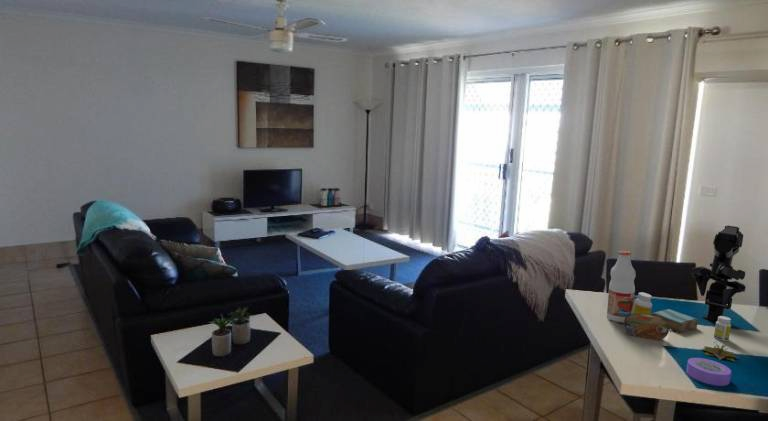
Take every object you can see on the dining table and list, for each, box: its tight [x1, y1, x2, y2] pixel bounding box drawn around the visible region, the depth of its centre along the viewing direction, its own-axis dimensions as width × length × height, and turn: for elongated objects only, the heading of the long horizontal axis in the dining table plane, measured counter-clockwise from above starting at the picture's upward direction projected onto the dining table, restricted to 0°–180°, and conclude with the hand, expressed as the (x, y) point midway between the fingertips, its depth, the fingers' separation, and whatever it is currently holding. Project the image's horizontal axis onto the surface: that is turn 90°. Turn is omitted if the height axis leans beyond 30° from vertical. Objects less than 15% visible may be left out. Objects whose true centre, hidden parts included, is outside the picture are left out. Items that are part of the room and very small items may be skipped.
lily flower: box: [699, 340, 738, 363], centre depth 176 cm, size 12×12×5 cm
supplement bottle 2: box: [713, 315, 732, 342], centre depth 189 cm, size 5×5×8 cm
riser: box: [650, 308, 699, 334], centre depth 201 cm, size 12×12×4 cm
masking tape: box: [685, 357, 732, 387], centre depth 159 cm, size 12×12×4 cm
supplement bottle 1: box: [631, 291, 653, 316], centre depth 197 cm, size 7×7×13 cm
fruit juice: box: [606, 250, 636, 324], centre depth 202 cm, size 9×9×28 cm
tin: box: [623, 314, 670, 341], centre depth 187 cm, size 15×3×8 cm, turn 70°
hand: (713, 300), depth 189 cm, fingers open, 9 cm apart
